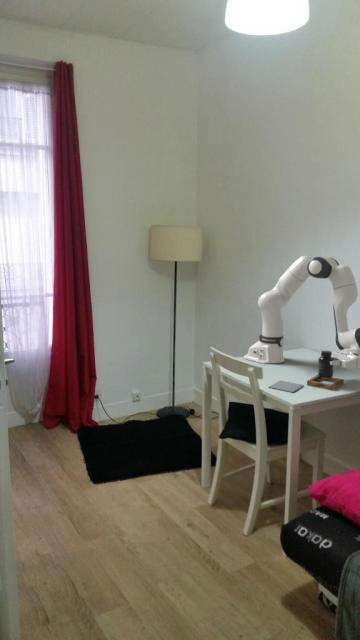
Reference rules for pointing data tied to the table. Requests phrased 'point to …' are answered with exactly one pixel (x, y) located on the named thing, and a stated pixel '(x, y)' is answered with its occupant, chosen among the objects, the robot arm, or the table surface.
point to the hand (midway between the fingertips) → (324, 360)
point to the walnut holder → (314, 383)
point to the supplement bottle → (325, 365)
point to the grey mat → (286, 386)
